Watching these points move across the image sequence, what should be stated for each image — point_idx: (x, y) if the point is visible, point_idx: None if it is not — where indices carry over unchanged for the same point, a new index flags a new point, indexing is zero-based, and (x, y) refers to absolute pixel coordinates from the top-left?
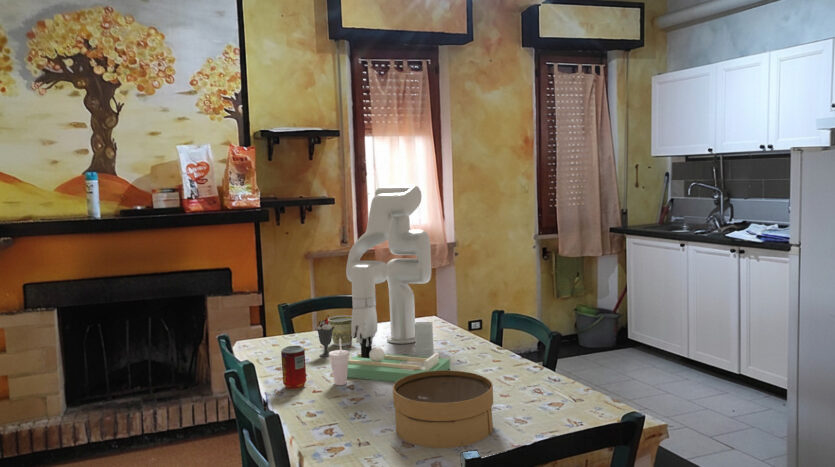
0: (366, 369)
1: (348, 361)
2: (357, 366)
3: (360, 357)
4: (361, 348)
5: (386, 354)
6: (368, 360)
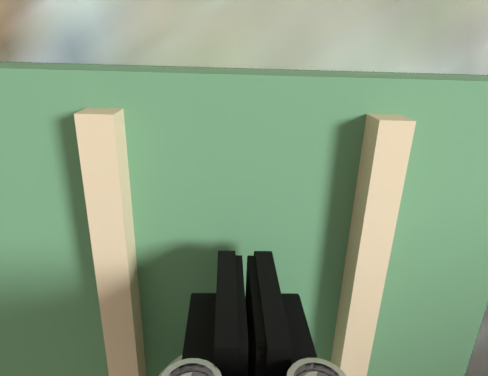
0: (1, 373)
1: (83, 148)
2: (38, 274)
3: (332, 162)
4: (215, 323)
5: (459, 339)
6: None
